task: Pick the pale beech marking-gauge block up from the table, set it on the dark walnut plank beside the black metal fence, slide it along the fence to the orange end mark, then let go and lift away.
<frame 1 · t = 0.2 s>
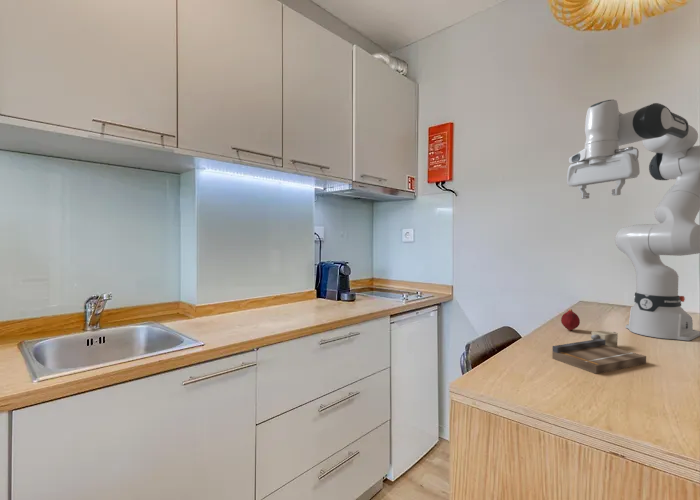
hand: (600, 197, 109), 47 cm above the table, fingers open, 8 cm apart
onion: (570, 331, 126), on the table
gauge: (604, 346, 108), on the table
board: (598, 360, 95), on the table
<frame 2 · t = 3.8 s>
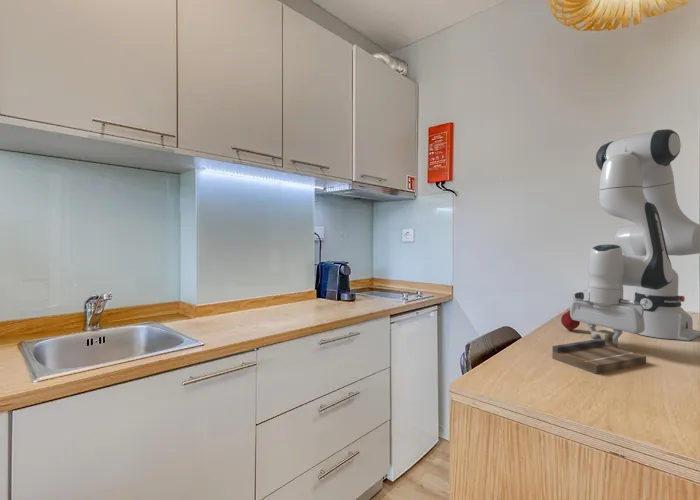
hand: (604, 340, 108), 2 cm above the table, fingers closed on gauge, 4 cm apart
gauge: (604, 346, 108), on the table, touching gripper
everything else where it was.
when the fingers open (4 cm above the table, at t = 11.5 s): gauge stays where it is, resting on board.
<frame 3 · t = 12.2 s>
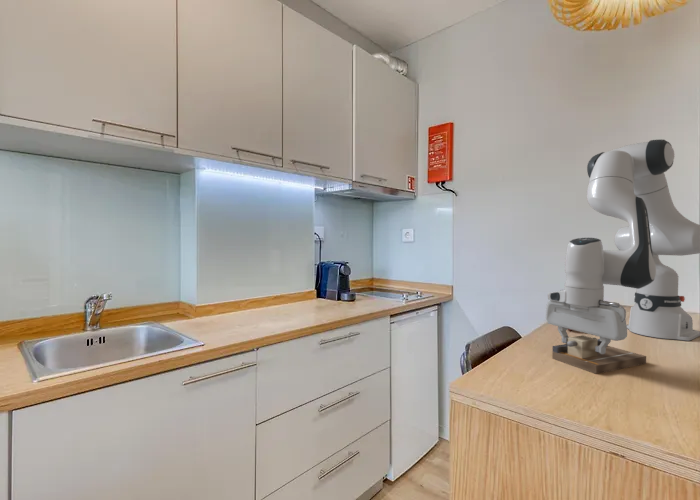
hand: (582, 347, 94), 4 cm above the table, fingers open, 8 cm apart
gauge: (582, 354, 94), point 2 cm above the table, touching board
everything else where it was.
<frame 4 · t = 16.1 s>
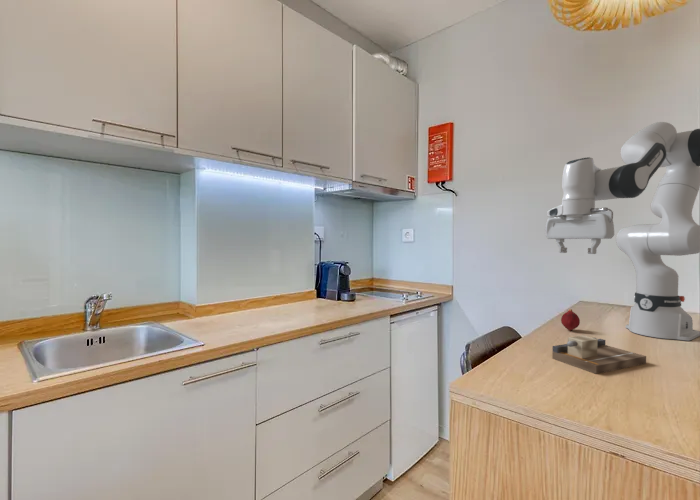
hand: (577, 253, 109), 29 cm above the table, fingers open, 8 cm apart
nothing on the table moved.
at the end: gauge 0.0 cm from the target spot, point 2.0 cm above the table; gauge tilted 0°; the gripper is holding nothing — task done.
